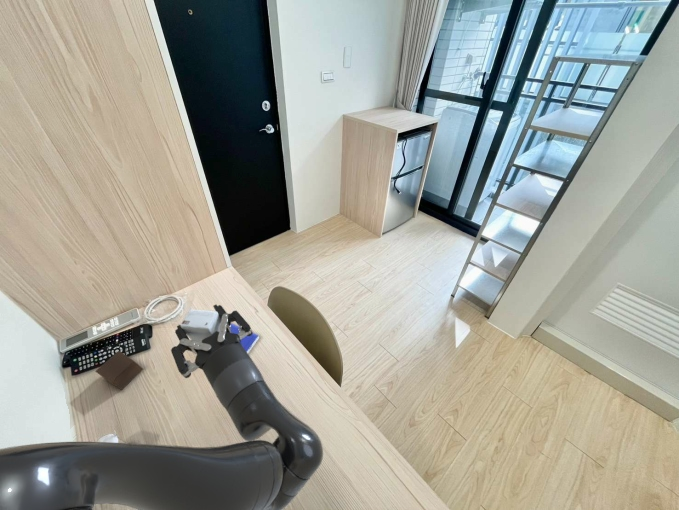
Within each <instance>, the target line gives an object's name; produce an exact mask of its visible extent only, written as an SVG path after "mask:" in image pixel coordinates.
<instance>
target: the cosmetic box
mask: <svg viewBox="0 0 679 510" xmlns="http://www.w3.org/2000/svg"><path fill="white" fill-rule="evenodd" d="M221 321H222V319H221V318H220V316H219V314H218V312H216V311H215V310H203V309H191V308H190V309H189V311H188V313H187V314H186V316H185V317H184V319H183V321H182V322H181V324H180V325H181V328H182V329H183V330H184V331H185V333H186V334H187V336H188V338H189V340H192V341H193V340H195V341H198V342H202V340H203V339H205V338H207V337H210V336H211V335H212V334H213V333H215V332H216V331H218V332H219V329H220V323H221Z"/></svg>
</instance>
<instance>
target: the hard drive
mask: <svg viewBox="0 0 679 510" xmlns="http://www.w3.org/2000/svg"><path fill="white" fill-rule="evenodd" d="M239 327H240V326H239V325H237V324H233V323H231V333H235V334H238V333H239ZM259 339H260V335H258V334H256V333H253V334H252V335H251V336H245V337H244V338H243V339H241V345H242V346H243V348H244V349H245V350H246V352H247V353H248V354H249V353H250V352H251V350H252V349H253V347H254V346H255V345H256V343H257V342H258V340H259Z"/></svg>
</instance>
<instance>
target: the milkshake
mask: <svg viewBox="0 0 679 510" xmlns="http://www.w3.org/2000/svg"><path fill="white" fill-rule="evenodd" d="M113 431H114V433H107V434H105V435H103V436H102V437H100V438H99V439H98V440H97V441H96V442H110V443H127V442H126V441H124V440H123V439H121V438H120V437H119V436H117V431H116V429H115V428H113Z"/></svg>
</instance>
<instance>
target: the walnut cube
mask: <svg viewBox="0 0 679 510" xmlns="http://www.w3.org/2000/svg"><path fill="white" fill-rule="evenodd" d="M143 370H144V368H143V367H142V366H141V365H140V364H138V363H137V362H136V361H135V360H133V359H132V358H131V357H129V356H127V355H126V354H125V353H123V352H122V351H120V350H118V351H117V352H115V353H114V354H112V356H111V357H110V358H109V359H107V360H106V361H105V362H104V363H102V365H101V366H99V367H98V368H97V369H96V370H95V373H97V374H98V375H99V376H100V377H102V378H104V380H106V381H107V382H109V383H110V384H112V385H113V386H115V387H116V388H117V389H119V390H121V391H122V390H123V389H125V388H126V387H127V386H128V385H129V384H130V383H131V382H132V381H133V380H134V379H135V378H136V377H137V376H138V375H139V374H140V373H141V372H142V371H143Z"/></svg>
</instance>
